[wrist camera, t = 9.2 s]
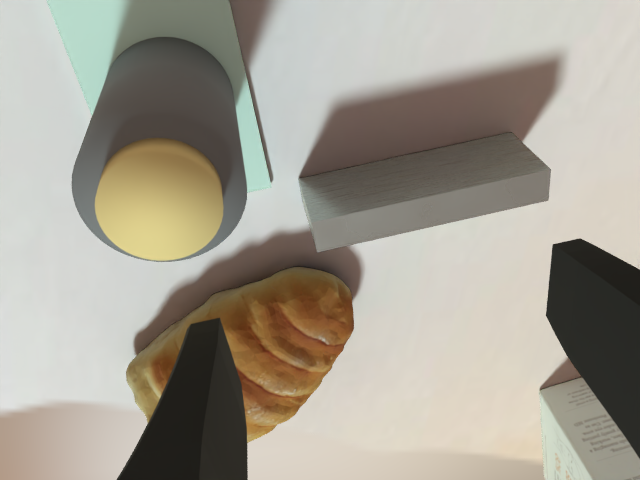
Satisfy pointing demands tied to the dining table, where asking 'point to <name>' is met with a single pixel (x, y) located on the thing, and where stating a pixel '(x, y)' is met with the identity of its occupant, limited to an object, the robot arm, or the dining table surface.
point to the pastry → (262, 343)
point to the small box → (582, 437)
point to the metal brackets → (422, 190)
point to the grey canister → (162, 154)
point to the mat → (160, 21)
